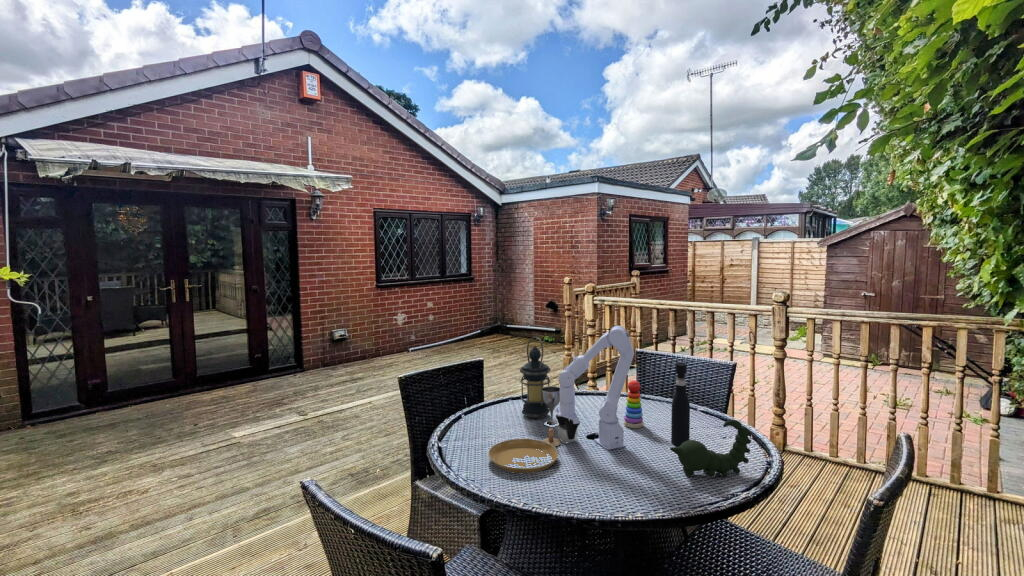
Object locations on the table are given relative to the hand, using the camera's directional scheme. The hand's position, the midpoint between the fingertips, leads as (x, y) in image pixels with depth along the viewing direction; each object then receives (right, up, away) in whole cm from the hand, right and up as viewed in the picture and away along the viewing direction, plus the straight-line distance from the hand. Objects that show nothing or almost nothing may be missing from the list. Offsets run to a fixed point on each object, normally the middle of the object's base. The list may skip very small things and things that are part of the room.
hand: (567, 436), depth 181 cm
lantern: (-11, 0, +27) cm, 29 cm away
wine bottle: (+41, -1, -6) cm, 42 cm away
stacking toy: (+29, 0, +13) cm, 32 cm away
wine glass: (-5, 0, +16) cm, 17 cm away
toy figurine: (+42, -3, -30) cm, 51 cm away
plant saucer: (-17, -4, -17) cm, 25 cm away
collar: (0, -1, 0) cm, 1 cm away
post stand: (-7, -2, -4) cm, 8 cm away
